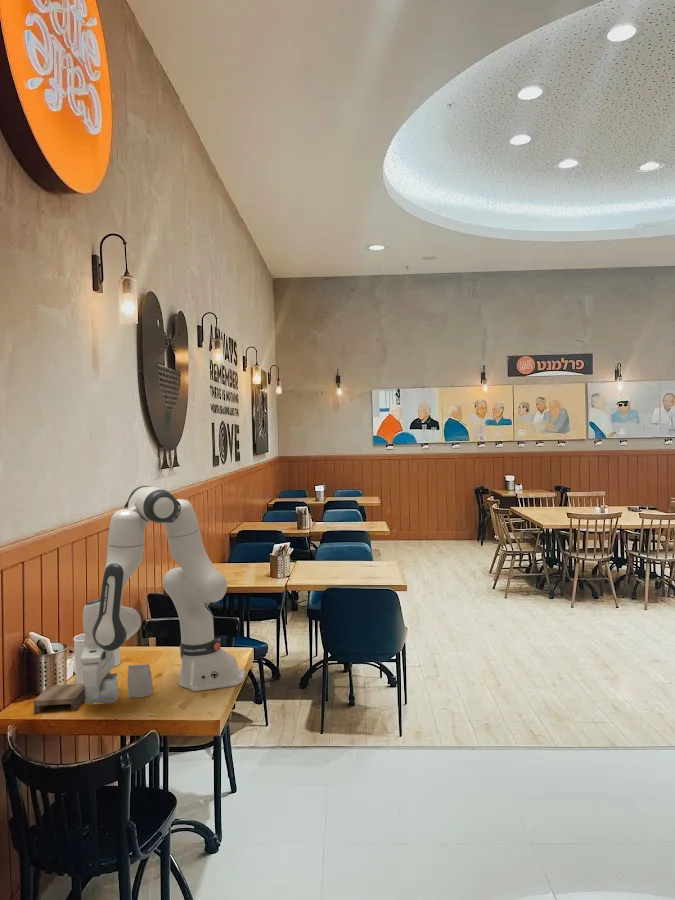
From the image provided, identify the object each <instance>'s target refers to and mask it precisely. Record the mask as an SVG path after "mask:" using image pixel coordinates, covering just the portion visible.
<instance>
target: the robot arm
mask: <svg viewBox="0 0 675 900" xmlns="http://www.w3.org/2000/svg"><path fill="white" fill-rule="evenodd" d="M123 508H124V509H119V510H117V511H115V512H114V513H113V515H111V519H110V522H109V528H108V534H107V549H106V552H107V553H106V561H105V562H106V563H105V568H104V572H103V573H104V574H103V577H102V585H101V591H100V592H101V593H100V597H99V598H95V599H93V600H90V601H89V602H87V603H86V604H85V605H83V609H82V630H83V632H84V633H85V638H84V650H83V653H82V655H81V658H80V662H81V664H83V667H82V672H83V681H84V686H85V688H91V690H92V692H93V697H94V698H98V697H99V696H100V690H99V684H100V683H101V681H102V680H103V679H104V678H105V677H106V675H107V674H111V670H112V669H113V668H115V667H114V665H115V655H114V650H116V649H118V648H119V649H120V647H121V646H122V645H123V644H124V643H125V642H126V641H128V640H129V639H131V637H132V636H133V637H134V635H135V634H136V633H137V632H138V631H140V629H141V628H142V627H141V626H142V617H141V614H140V612H139V611H138V610H137V609H135V608H134V607H131V606H130V607H129V606H123V605H122V604H123V594H124V589H125V587H126V584H127V582H128V581H129V579H130V578H131V576H132V575H133V574H134V573H135V572H136V570H137V569H138V568H139V567H140V565H141V563H142V561H143V556H144V548H145V530H146V527H147V526H148V524H149V522H152V523H156V524H163V526H164V528H165V534H166V538H167V543H168V547H169V552H170V556H171V558H172V559H173V561H174V562H176V563H177V564H178V565H179V566H178V567H173V568H171V569H169V570H168V571H167V572H166V573H165V575H164V578H163V579H162V581H163V582H162V584H163V585H162V586H163V590H164V592H165V593H166V594H167V595H168V596H169V597H170V599H171V601H172V603H173V605H174V607H175V609H176V613H177V615H178V619H179V628H180V639H181V641H180V642H179V643H180V645H179V650H180V654H179V655H180V658H181V668H180V674H179V679H178V684H179V686H180V687H182V688H185V689H189V690H190V691H191V692H201V691H207V690H215V689H221V688H222V689H223V688H229V687H235V686H239V685H241V683H242V682H244V680H245V678H246V672H245V669H244V668H241V667H239V665H238V661H237V658H236V657H235V656H234V655H232V654H231V653H229V652H228V651H226V650H224V649H223V648H221V638H220V637H219V638H216V637H215V631H214V630H215V629H214V618H213V617H214V616H213V615H212V613H211V611H210V610H209V609H208V608H207V607H206V605H205V604H207V603H216V602H219V601H221V600H222V599H223V598H224V597H225V595H226V593H227V589H228V583H227V579H226V577H225V576H224V575H223V574H222V573H221V572H220V571H219V570H218V569H217V568H216V567H215V565H214V564H213V562H212V560H211V559H210V557H209V556H208V554H207V551H206V548H205V545H204V541H203V537H202V532H201V528H200V524H199V521H198V517H197V513H196V511H195V508H194V506H193V504H192V503H191V502H190V501H189V500H187V499H184V498H183V499H182V498H176V497H175V496H174V495H173V494H172V493H171V492H169V491H168V490H165V489H163V488H161V487H158V486H150V485H142V486H138V487H136V488H134V489H133V490H132V491H131V492H130V494H129V497H128V499H127V501H126V502H125V504H124V507H123ZM84 633H83V634H84Z"/></svg>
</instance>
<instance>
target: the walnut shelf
mask: <svg viewBox="0 0 675 900" xmlns="http://www.w3.org/2000/svg"><path fill="white" fill-rule="evenodd" d="M85 699H86V698H85V686H84V684H76V683H72V684H56V685H54V684H53V685H48V686H47V687H46V688H45V689H44V690H43V691H42V692H41V693H40V694H39V695H38V696H37V697H36V698H35V699H34V700H33V712H34V713H33V714H41V712H42V711H43V710H44V709H45V708H46V707H47V706H55V705H56V706H57V705H58V706H59V705H70V712H77V711H78V710H79V708H80V707H81V706H82V705H83V703H84V702H86V700H85Z"/></svg>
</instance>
